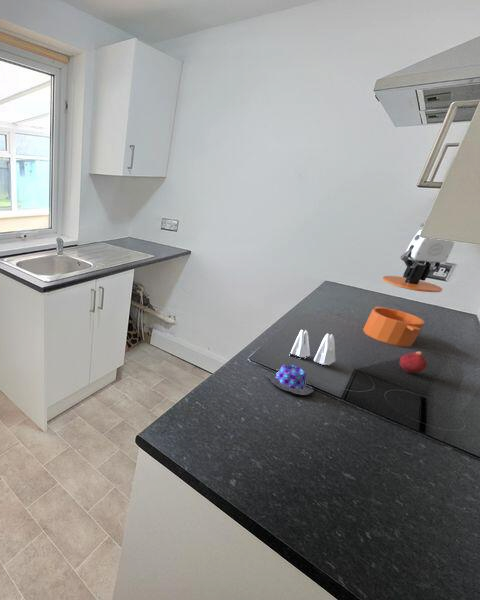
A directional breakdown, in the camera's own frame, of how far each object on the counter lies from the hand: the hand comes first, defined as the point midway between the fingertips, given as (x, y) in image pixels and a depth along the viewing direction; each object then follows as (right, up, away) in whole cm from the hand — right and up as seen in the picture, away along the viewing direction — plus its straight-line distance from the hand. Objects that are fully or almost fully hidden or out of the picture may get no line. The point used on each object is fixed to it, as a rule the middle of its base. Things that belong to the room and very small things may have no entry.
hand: (413, 278), depth 112 cm
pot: (+1, -22, +11) cm, 25 cm away
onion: (-14, -32, -11) cm, 37 cm away
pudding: (-59, -33, -20) cm, 70 cm away
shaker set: (-43, -28, -8) cm, 52 cm away
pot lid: (0, -2, +1) cm, 2 cm away
